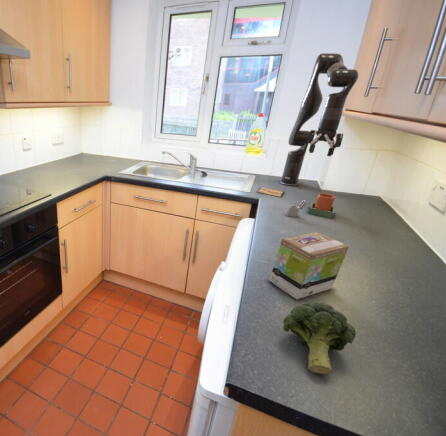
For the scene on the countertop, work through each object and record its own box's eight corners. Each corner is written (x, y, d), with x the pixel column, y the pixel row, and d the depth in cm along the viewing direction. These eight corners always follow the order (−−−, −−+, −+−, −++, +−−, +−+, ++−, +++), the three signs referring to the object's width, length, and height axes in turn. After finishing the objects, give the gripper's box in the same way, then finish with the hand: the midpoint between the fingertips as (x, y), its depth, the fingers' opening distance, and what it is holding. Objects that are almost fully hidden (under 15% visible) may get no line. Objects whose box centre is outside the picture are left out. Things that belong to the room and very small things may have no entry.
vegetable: (271, 354, 61) (277, 292, 70) (302, 382, 66) (304, 320, 74) (338, 358, 52) (335, 286, 61) (370, 390, 56) (363, 319, 65)
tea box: (298, 301, 81) (313, 254, 75) (268, 281, 90) (280, 237, 84) (333, 289, 87) (350, 244, 81) (301, 271, 95) (315, 229, 89)
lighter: (287, 216, 139) (292, 200, 136) (286, 214, 141) (290, 198, 137) (303, 217, 139) (308, 201, 135) (301, 215, 140) (306, 199, 137)
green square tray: (310, 207, 151) (311, 202, 149) (332, 212, 146) (334, 206, 144) (308, 213, 143) (310, 207, 142) (332, 218, 138) (334, 212, 137)
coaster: (261, 187, 181) (261, 187, 180) (283, 191, 174) (283, 191, 174) (257, 192, 171) (257, 191, 171) (280, 197, 165) (280, 196, 165)
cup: (313, 209, 149) (318, 192, 145) (329, 212, 145) (334, 195, 142) (312, 213, 144) (318, 195, 140) (328, 216, 140) (334, 198, 137)
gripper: (352, 119, 130) (340, 156, 136) (320, 117, 141) (310, 151, 148) (342, 120, 127) (330, 157, 133) (310, 117, 138) (300, 152, 145)
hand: (319, 154), depth 140 cm, fingers open, 8 cm apart
